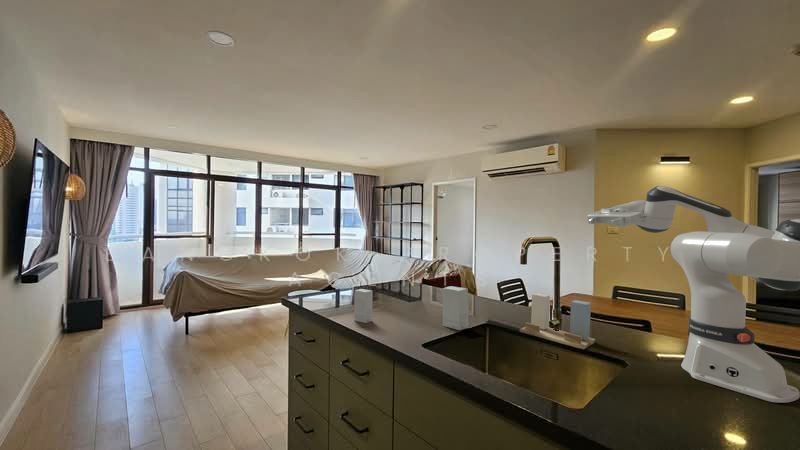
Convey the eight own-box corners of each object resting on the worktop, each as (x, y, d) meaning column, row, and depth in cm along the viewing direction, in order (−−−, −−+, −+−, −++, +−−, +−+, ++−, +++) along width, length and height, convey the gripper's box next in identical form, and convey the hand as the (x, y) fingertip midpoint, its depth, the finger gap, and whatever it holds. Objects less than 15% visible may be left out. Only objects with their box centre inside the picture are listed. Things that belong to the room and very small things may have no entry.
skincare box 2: (468, 328, 130) (469, 288, 130) (458, 331, 126) (460, 290, 126) (450, 322, 136) (451, 285, 136) (440, 325, 132) (442, 286, 132)
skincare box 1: (372, 320, 136) (373, 290, 136) (365, 323, 133) (366, 292, 132) (360, 318, 139) (361, 288, 139) (353, 320, 136) (354, 290, 136)
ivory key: (535, 324, 133) (537, 293, 133) (548, 327, 129) (550, 295, 129) (530, 326, 130) (532, 294, 130) (544, 329, 127) (545, 296, 126)
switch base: (533, 326, 135) (533, 317, 135) (595, 342, 119) (595, 332, 118) (519, 331, 128) (520, 322, 128) (583, 349, 111) (584, 338, 111)
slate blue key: (574, 333, 123) (575, 300, 122) (589, 337, 119) (590, 302, 119) (569, 336, 120) (570, 301, 120) (585, 340, 116) (586, 304, 116)
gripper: (650, 223, 135) (627, 231, 129) (601, 222, 154) (579, 229, 148) (648, 207, 134) (625, 214, 129) (599, 208, 153) (577, 214, 147)
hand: (600, 222), depth 139 cm, fingers open, 8 cm apart
